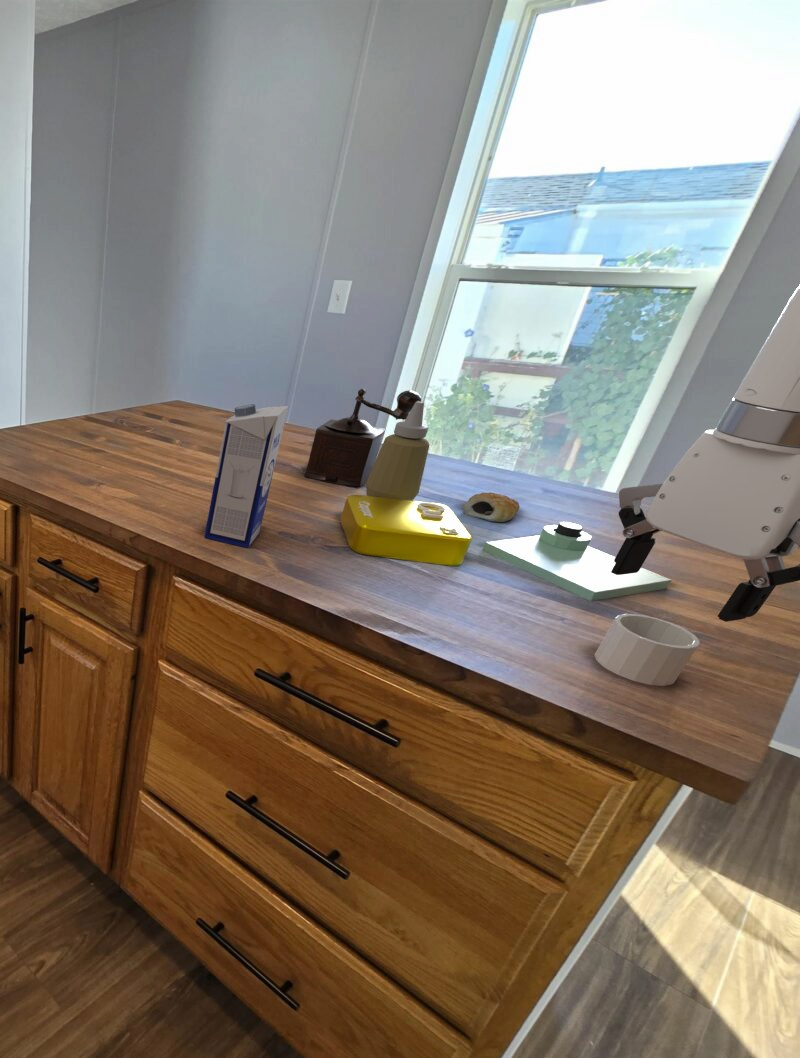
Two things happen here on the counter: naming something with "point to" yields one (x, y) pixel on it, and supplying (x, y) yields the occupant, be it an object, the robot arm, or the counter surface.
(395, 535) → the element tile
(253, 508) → the milk carton
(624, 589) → the scale
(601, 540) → the counter surface
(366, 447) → the manual coffee grinder
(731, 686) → the counter surface
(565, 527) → the tare button
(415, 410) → the squeeze bottle
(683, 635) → the small bowl
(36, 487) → the counter surface
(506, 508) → the pastry
